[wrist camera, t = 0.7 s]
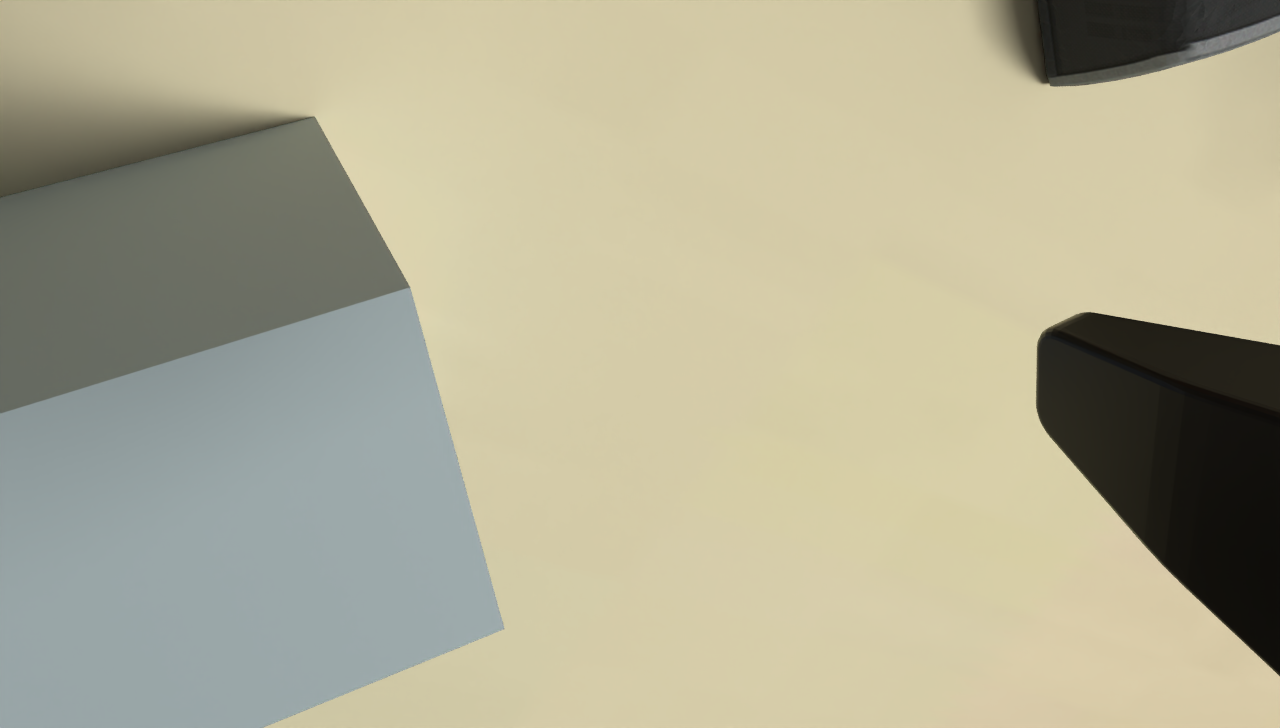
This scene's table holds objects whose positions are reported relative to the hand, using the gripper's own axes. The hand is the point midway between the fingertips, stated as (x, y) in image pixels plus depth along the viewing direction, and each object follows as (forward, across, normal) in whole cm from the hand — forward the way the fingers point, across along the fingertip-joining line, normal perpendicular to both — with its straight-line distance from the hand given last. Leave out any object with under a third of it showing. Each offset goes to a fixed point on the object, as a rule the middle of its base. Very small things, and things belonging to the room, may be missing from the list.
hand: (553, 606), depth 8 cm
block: (+13, +6, +3) cm, 15 cm away
